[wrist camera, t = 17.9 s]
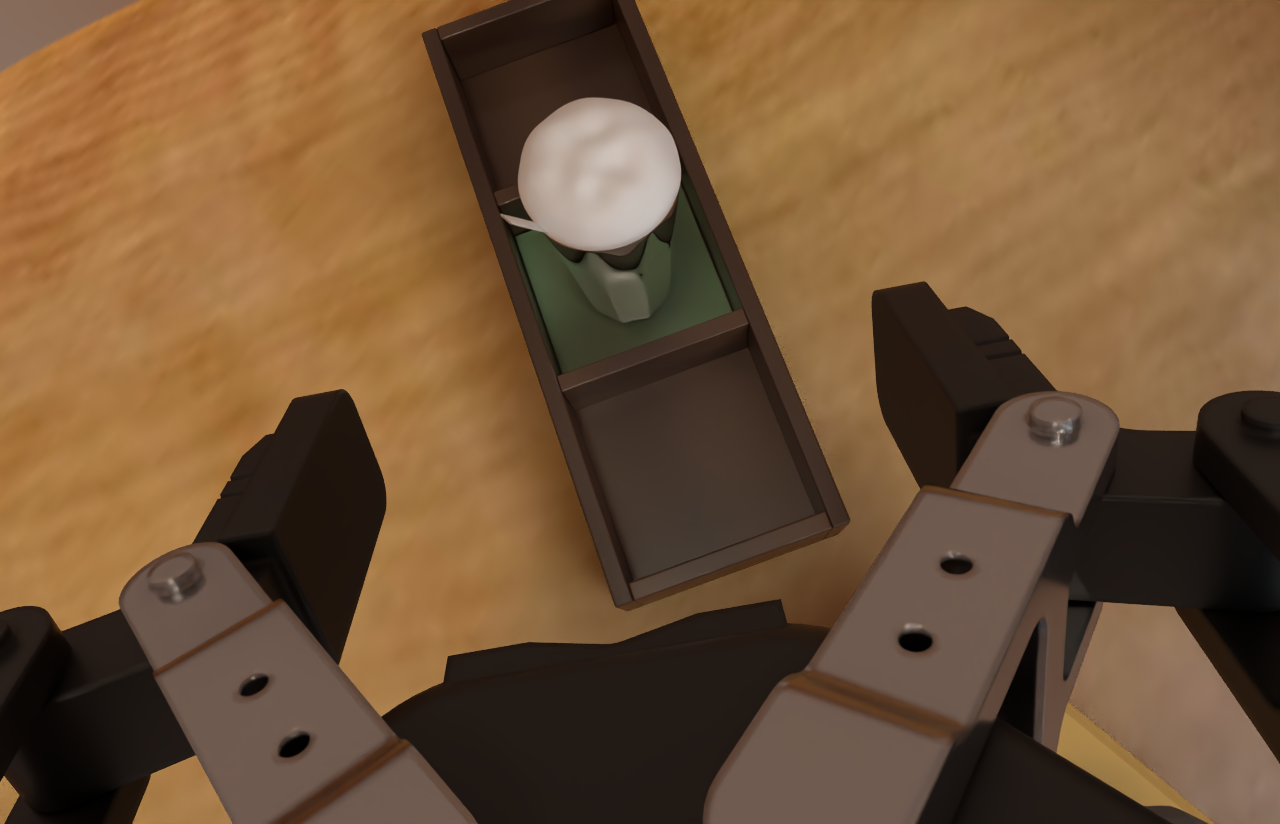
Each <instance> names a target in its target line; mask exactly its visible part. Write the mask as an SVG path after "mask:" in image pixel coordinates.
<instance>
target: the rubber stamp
mask: <svg viewBox="0 0 1280 824" xmlns="http://www.w3.org/2000/svg"><path fill="white" fill-rule="evenodd" d="M1056 753H1057V754H1059V755H1061V756H1062V757H1064V758H1065V759H1067V760H1069V761H1070V762H1072V763H1074V764H1075V765H1077V766H1079V767H1080V768H1082V769H1084V770H1085V771H1087V772H1089V773H1090V774H1092V775H1093V776H1095V777H1097V778H1098V779H1100V780H1102V781H1103V782H1105V783H1107V784H1108V785H1110V786H1112V787H1113V788H1115V789H1117V790H1118V791H1120V792H1121V793H1123V794H1125V795H1126V796H1128V797H1130V798H1131V799H1133V800H1135V801H1136V802H1138V803H1140V804H1141V805H1143V806H1145V807H1146V808H1148V809H1150V810H1151V811H1153V812H1154V813H1156V814H1158V815H1159V816H1161V817H1163V818H1164V819H1166V820H1168V821H1169V822H1171V823H1173V824H1215V823H1214V822H1213V821H1211V820H1210V819H1209V818H1208V817H1206V816H1205V815H1204V814H1203V813H1202V812H1200V811H1199V810H1198V809H1197V808H1196V807H1194V806H1193V805H1192V804H1191V803H1190V802H1188V801H1187V800H1186V799H1185V798H1184V797H1182V796H1181V795H1180V794H1179V793H1178V792H1176V791H1175V790H1174V789H1173V788H1171V787H1170V786H1169V785H1168V784H1167V783H1165V782H1164V781H1163V780H1162V779H1161V778H1159V777H1158V776H1157V775H1156V774H1155V773H1153V772H1152V771H1151V770H1150V769H1149V768H1147V767H1146V766H1145V765H1144V764H1142V763H1141V762H1140V761H1139V760H1138V759H1136V758H1135V757H1134V756H1133V755H1132V754H1130V753H1129V752H1128V751H1127V750H1126V749H1124V748H1123V747H1122V746H1121V745H1120V744H1118V743H1117V742H1116V741H1115V740H1113V739H1112V738H1111V737H1110V736H1109V735H1107V734H1106V733H1105V732H1104V731H1103V730H1101V729H1100V728H1099V727H1098V726H1097V725H1095V724H1094V723H1093V722H1092V721H1091V720H1089V719H1088V718H1087V717H1086V716H1085V715H1083V714H1082V713H1081V712H1080V711H1078V710H1077V709H1076V708H1075V707H1074V706H1072V705H1071V704H1070V703H1069V702H1068V704H1067V707H1066V710H1065V714H1064V717H1063V721H1062V726H1061V731H1060V736H1059V742H1058V747H1057V752H1056Z"/></svg>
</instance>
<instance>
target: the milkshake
mask: <svg viewBox="0 0 1280 824" xmlns="http://www.w3.org/2000/svg"><path fill="white" fill-rule="evenodd" d="M680 182H681V165H680V160H679V155H678V151H677V148H676V145H675V142H674V139H673V137H672V135H671V134H670V132H669V131H668V129H667V128H666V127H665V126H664V125H663V124H662V123H661V122H660V121H659V120H658V119H657V118H656V117H654V116H653V115H652V114H650V113H649V112H647V111H646V110H644V109H643V108H641V107H639V106H637V105H635V104H632V103H630V102H626V101H622V100H616V99H608V98H583V99H578V100H575V101H572V102H570V103H568V104H566V105H564V106H562V107H560V108H559V109H557V110H556V111H555V112H553V113H552V114H551V115H550V116H548V117H547V118H546V119H545V120H543V121H542V122H541V123H540V124H539V125H538V126H536V127H535V129H534V130H533V131H532V132H531V134H530V135H529V136H528V138H527V140H526V142H525V144H524V147H523V151H522V155H521V160H520V166H519V172H518V189H519V194H520V198H521V201H522V203H523V206H524V208H525V210H526V211H527V213H528V215H529V216H530V218H531V219H532V220H533V222H532V221H529V220H525V219H521V218H517V217H513V216H509V215H506V214H502V213H500V216H501V217H503V218H504V219H505V220H506V221H507V222H508V223H509V224H511V225H515V226H519V227H523V228H527V229H531V230H535V231H539V232H542V234H543V235H544V236H545V238H546V239H547V240H548V242H549V243H550V244H551V246H552V247H553V248H554V250H555V251H556V252H557V254H558V255H559V256H560V257H561V259H562V260H563V261H564V263H565V264H566V266H567V267H568V268H569V270H570V271H571V273H572V275H573V276H574V278H575V279H576V281H577V282H578V284H579V285H580V287H581V289H582V290H583V292H584V293H585V295H586V296H587V298H588V299H589V301H590V303H591V304H592V306H593V307H594V309H595V310H596V312H598V313H601V314H603V315H605V316H608V317H610V318H612V319H615V320H617V321H619V322H621V323H624V322H629V321H634V320H639V319H644V318H649V317H651V316H652V315H653V314H654V313H655V312H656V311H657V310H658V309H659V308H660V307H661V305H662V304H663V303H664V302H665V301H666V300H667V299H668V298H669V297H670V292H671V284H672V277H673V270H674V244H675V222H676V216H677V207H678V197H679V187H680Z"/></svg>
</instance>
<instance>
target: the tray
mask: <svg viewBox="0 0 1280 824" xmlns="http://www.w3.org/2000/svg"><path fill="white" fill-rule="evenodd" d="M422 38H423V41H424V44H425V47H426V50H427V52H428V55H429V58H430V61H431V64H432V67H433V70H434V73H435V76H436V79H437V82H438V85H439V88H440V91H441V94H442V97H443V100H444V103H445V106H446V109H447V112H448V114H449V117H450V120H451V123H452V126H453V129H454V132H455V135H456V138H457V141H458V144H459V147H460V150H461V153H462V156H463V159H464V162H465V165H466V168H467V171H468V174H469V176H470V179H471V182H472V185H473V188H474V191H475V194H476V197H477V200H478V203H479V206H480V209H481V212H482V215H483V218H484V221H485V224H486V227H487V230H488V233H489V236H490V239H491V241H492V244H493V247H494V250H495V253H496V256H497V259H498V262H499V265H500V268H501V271H502V274H503V277H504V280H505V283H506V286H507V289H508V292H509V295H510V298H511V301H512V303H513V306H514V309H515V312H516V315H517V318H518V321H519V324H520V327H521V330H522V333H523V336H524V339H525V342H526V345H527V348H528V351H529V354H530V357H531V360H532V363H533V365H534V368H535V371H536V374H537V377H538V380H539V383H540V386H541V389H542V392H543V395H544V398H545V401H546V404H547V407H548V410H549V413H550V416H551V419H552V422H553V425H554V427H555V430H556V433H557V436H558V439H559V442H560V445H561V448H562V451H563V454H564V457H565V460H566V463H567V466H568V469H569V472H570V475H571V478H572V481H573V484H574V487H575V489H576V492H577V495H578V498H579V501H580V504H581V507H582V510H583V513H584V516H585V519H586V522H587V525H588V528H589V531H590V534H591V537H592V540H593V543H594V546H595V549H596V551H597V554H598V557H599V560H600V563H601V566H602V569H603V572H604V575H605V578H606V581H607V584H608V587H609V590H610V593H611V596H612V599H613V602H614V605H615V607H617V608H619V609H622V610H625V611H630V610H632V609H635V608H638V607H640V606H643V605H646V604H649V603H651V602H654V601H657V600H660V599H662V598H665V597H668V596H671V595H673V594H676V593H679V592H681V591H684V590H687V589H690V588H692V587H695V586H698V585H701V584H703V583H706V582H709V581H712V580H714V579H717V578H720V577H722V576H725V575H728V574H731V573H733V572H736V571H739V570H742V569H744V568H747V567H750V566H753V565H755V564H758V563H761V562H763V561H766V560H769V559H772V558H774V557H777V556H780V555H783V554H785V553H788V552H791V551H794V550H796V549H799V548H802V547H804V546H807V545H810V544H813V543H815V542H818V541H821V540H824V539H826V538H829V537H832V536H835V535H837V534H839V533H840V532H841V531H842V530H843V529H844V528H845V527H846V526H847V525H848V524H849V523H850V518H849V515H848V513H847V511H846V508H845V506H844V503H843V501H842V499H841V496H840V494H839V491H838V489H837V487H836V484H835V482H834V479H833V477H832V474H831V472H830V470H829V467H828V465H827V462H826V460H825V458H824V455H823V453H822V450H821V448H820V446H819V443H818V441H817V438H816V436H815V434H814V431H813V429H812V426H811V424H810V421H809V419H808V417H807V414H806V412H805V409H804V407H803V405H802V402H801V400H800V397H799V395H798V393H797V390H796V388H795V385H794V383H793V380H792V378H791V376H790V373H789V371H788V368H787V366H786V364H785V361H784V359H783V356H782V354H781V352H780V349H779V347H778V344H777V342H776V340H775V337H774V335H773V332H772V330H771V327H770V325H769V323H768V320H767V318H766V315H765V313H764V311H763V308H762V306H761V303H760V301H759V299H758V296H757V294H756V291H755V289H754V287H753V284H752V282H751V279H750V277H749V274H748V272H747V270H746V267H745V265H744V262H743V260H742V258H741V255H740V253H739V250H738V248H737V246H736V243H735V241H734V238H733V236H732V234H731V231H730V229H729V226H728V224H727V221H726V219H725V217H724V214H723V212H722V209H721V207H720V205H719V202H718V200H717V197H716V195H715V193H714V190H713V188H712V185H711V183H710V180H709V178H708V176H707V173H706V171H705V168H704V166H703V164H702V161H701V159H700V156H699V154H698V152H697V149H696V147H695V144H694V142H693V140H692V137H691V135H690V132H689V130H688V127H687V125H686V123H685V120H684V118H683V115H682V113H681V111H680V108H679V106H678V103H677V101H676V99H675V96H674V94H673V91H672V89H671V87H670V84H669V82H668V79H667V77H666V74H665V72H664V70H663V67H662V65H661V62H660V60H659V58H658V55H657V53H656V50H655V48H654V46H653V43H652V41H651V38H650V36H649V33H648V31H647V29H646V26H645V24H644V21H643V19H642V17H641V14H640V12H639V9H638V7H637V5H636V2H635V0H510V1H508V2H505V3H502V4H499V5H497V6H494V7H491V8H489V9H486V10H483V11H480V12H478V13H475V14H472V15H470V16H467V17H464V18H461V19H459V20H456V21H453V22H450V23H448V24H445V25H442V26H440V27H438V28H437V29H436V28H434V29H431V30H429V31H426V32H423V33H422ZM583 98H608V99H616V100H622V101H626V102H630V103H632V104H635V105H637V106H639V107H641V108H643V109H644V110H646V111H647V112H649V113H650V114H652V115H653V116H654V117H656V118H657V119H658V120H659V121H660V122H661V123H662V124H663V125H664V126H665V127H666V128H667V129H668V131H669V132H670V134H671V135H672V137H673V139H674V142H675V145H676V148H677V151H678V155H679V160H680V165H681V182H680V187H679V197H678V207H677V216H676V222H675V244H674V270H673V277H672V284H671V292H670V297H669V298H668V299H667V300H666V301H665V302H664V303H663V304H662V305H661V307H660V308H659V309H658V310H657V311H656V312H655V313H654V314H653V315H652V316H651V317H649V318H644V319H639V320H634V321H629V322H624V323H621V322H619V321H617V320H615V319H612V318H610V317H608V316H605V315H603V314H601V313H598V312H596V310H595V309H594V307H593V306H592V304H591V303H590V301H589V299H588V298H587V296H586V295H585V293H584V292H583V290H582V289H581V287H580V285H579V284H578V282H577V281H576V279H575V278H574V276H573V275H572V273H571V271H570V270H569V268H568V267H567V266H566V264H565V263H564V261H563V260H562V259H561V257H560V256H559V255H558V254H557V252H556V251H555V250H554V248H553V247H552V246H551V244H550V243H549V242H548V240H547V239H546V238H545V236H544V235H543V234H542V232H539V231H535V230H531V229H527V228H523V227H519V226H515V225H511V224H509V223H508V222H507V221H506V220H505V219H504V218H503V217H501V216H500V213H502V214H506V215H509V216H513V217H517V218H521V219H525V220H529V221H532V222H533V220H532V219H531V218H530V216H529V215H528V213H527V211H526V210H525V208H524V206H523V203H522V201H521V198H520V194H519V189H518V172H519V166H520V160H521V155H522V151H523V147H524V144H525V142H526V140H527V138H528V136H529V135H530V134H531V132H532V131H533V130H534V129H535V127H536V126H538V125H539V124H540V123H541V122H542V121H543V120H545V119H546V118H547V117H548V116H550V115H551V114H552V113H553V112H555V111H556V110H557V109H559V108H560V107H562V106H564V105H566V104H568V103H570V102H572V101H575V100H578V99H583Z"/></svg>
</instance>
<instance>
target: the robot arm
mask: <svg viewBox="0 0 1280 824" xmlns="http://www.w3.org/2000/svg"><path fill="white" fill-rule="evenodd" d="M872 321H873V337H874V354H875V370H876V384H877V393H878V398H879V403H880V407H881V411H882V414H883V418H884V420H885V423H886V425H887V427H888V429H889V430H890V432H891V434H892V436H893V438H894V440H895V442H896V444H897V446H898V448H899V449H900V451H901V453H902V455H903V457H904V459H905V461H906V463H907V465H908V466H909V468H910V470H911V472H912V474H913V476H914V478H915V480H916V482H917V484H918V485H919V487H920V489H921V490H920V491H919V492H918V494H917V495H916V497H915V498H914V500H913V502H912V503H911V505H910V506H909V508H908V509H907V511H906V512H905V514H904V516H903V517H902V519H901V520H900V522H899V523H898V525H897V527H896V528H895V530H894V531H893V533H892V534H891V536H890V538H889V539H888V541H887V542H886V544H885V545H884V547H883V549H882V550H881V552H880V553H879V555H878V556H877V558H876V559H875V561H874V563H873V564H872V566H871V567H870V569H869V570H868V572H867V574H866V575H865V577H864V578H863V580H862V581H861V583H860V585H859V586H858V588H857V589H856V591H855V592H854V594H853V595H852V597H851V599H850V600H849V602H848V603H847V605H846V606H845V608H844V610H843V611H842V613H841V614H840V616H839V617H838V619H837V621H836V622H835V624H834V625H833V627H832V628H831V629H830V628H826V627H821V626H814V625H806V624H791V623H787V621H786V617H785V613H784V610H783V606H782V602H781V599H778V600H772V601H767V602H761V603H755V604H749V605H743V606H737V607H732V608H726V609H720V610H714V611H708V612H702V613H697V614H695V615H692V616H689V617H686V618H684V619H681V620H678V621H676V622H673V623H670V624H667V625H665V626H662V627H659V628H657V629H654V630H651V631H649V632H646V633H643V634H640V635H638V636H635V637H632V638H630V639H627V640H624V641H621V642H618V643H613V644H575V643H536V642H527V643H522V644H516V645H510V646H504V647H498V648H492V649H487V650H481V651H475V652H469V653H463V654H457V655H452V656H448V659H447V664H446V670H445V676H444V682H443V683H441V684H438V685H436V686H433V687H431V688H429V689H427V690H425V691H423V692H421V693H419V694H416V695H415V696H413V697H411V698H409V699H408V700H406V701H404V702H403V703H401V704H399V705H398V706H396V707H395V708H393V709H392V710H390V711H389V712H388V713H386V714H385V715H383V716H382V717H380V715H379V714H378V713H377V712H376V711H375V709H374V708H373V707H372V706H371V705H370V703H369V702H368V701H367V700H366V699H365V697H364V696H363V695H362V694H361V693H360V691H359V690H358V689H357V688H356V687H355V685H354V684H353V683H352V682H351V681H350V679H349V678H348V677H347V676H346V675H345V673H344V672H343V671H342V670H341V669H340V667H339V666H338V665H339V662H340V659H341V656H342V653H343V649H344V646H345V643H346V640H347V636H348V633H349V630H350V626H351V623H352V620H353V617H354V613H355V610H356V607H357V604H358V600H359V597H360V594H361V590H362V587H363V584H364V581H365V577H366V574H367V571H368V567H369V564H370V561H371V558H372V554H373V551H374V548H375V545H376V541H377V538H378V535H379V531H380V528H381V525H382V522H383V518H384V515H385V511H386V489H385V483H384V479H383V475H382V472H381V470H380V467H379V465H378V462H377V459H376V457H375V454H374V452H373V449H372V447H371V444H370V442H369V439H368V437H367V434H366V431H365V429H364V426H363V424H362V421H361V419H360V416H359V414H358V411H357V409H356V406H355V404H354V401H353V399H352V398H351V396H350V395H349V393H348V392H347V391H345V390H343V389H340V390H335V391H329V392H324V393H319V394H313V395H308V396H303V397H297V398H294V399H293V400H292V401H291V403H290V405H289V407H288V409H287V410H286V412H285V414H284V416H283V418H282V420H281V422H280V423H279V425H278V427H277V429H276V431H275V433H274V434H269V435H266V436H264V437H263V438H262V439H261V440H260V441H259V442H258V443H257V444H255V445H254V446H253V447H252V448H251V449H250V450H249V451H248V452H246V453H245V454H244V455H243V456H242V458H241V459H240V461H239V463H238V465H237V466H236V468H235V470H234V472H233V473H232V475H231V477H230V478H231V481H228V482H227V484H226V486H225V487H224V489H223V491H222V493H221V494H220V495H221V499H218V500H217V501H216V503H215V505H214V507H213V508H212V510H211V512H210V514H209V515H208V517H207V519H206V520H205V522H204V524H203V526H202V527H201V529H200V531H199V533H198V534H197V536H196V538H195V540H194V541H193V543H192V544H190V545H187V546H184V547H180V548H178V549H175V550H173V551H170V552H168V553H166V554H164V555H162V556H160V557H158V558H157V559H155V560H153V561H152V562H150V563H149V564H147V565H146V566H144V567H143V568H142V569H141V570H139V571H138V572H137V573H136V574H135V575H134V576H133V577H132V578H131V579H130V580H129V581H128V582H127V584H126V585H125V586H124V588H123V590H122V592H121V594H120V597H119V606H120V609H119V610H117V611H115V612H112V613H109V614H107V615H104V616H101V617H99V618H96V619H93V620H91V621H88V622H86V623H83V624H80V625H78V626H75V627H72V628H70V629H67V630H64V631H62V632H61V630H60V629H59V628H58V626H57V625H56V623H55V622H54V620H53V619H52V617H51V616H50V614H49V613H48V612H47V611H46V610H45V609H43V608H40V607H36V606H23V607H17V608H13V609H9V610H5V611H2V612H0V781H1V780H2V778H3V776H5V777H6V779H7V780H8V781H9V782H10V784H11V785H12V786H13V787H14V789H15V790H16V791H17V792H18V794H19V795H20V796H19V797H18V799H17V801H16V803H15V805H14V807H13V809H12V810H11V812H10V814H9V816H8V818H7V820H6V822H5V823H4V824H132V822H133V820H134V818H135V815H136V813H137V810H138V808H139V805H140V803H141V800H142V798H143V795H144V793H145V790H146V788H147V786H148V783H149V780H150V776H151V774H152V773H154V772H157V771H159V770H161V769H164V768H166V767H169V766H171V765H173V764H176V763H178V762H180V761H183V760H185V759H187V758H190V757H192V756H195V755H196V756H197V758H198V760H199V761H200V763H201V765H202V767H203V769H204V771H205V773H206V775H207V776H208V778H209V780H210V782H211V784H212V786H213V788H214V789H215V791H216V793H217V795H218V797H219V799H220V801H221V802H222V804H223V806H224V808H225V810H226V812H227V814H228V815H229V817H230V819H231V821H232V823H233V824H1173V823H1171V822H1169V821H1168V820H1166V819H1164V818H1163V817H1161V816H1159V815H1158V814H1156V813H1154V812H1153V811H1151V810H1150V809H1148V808H1146V807H1145V806H1143V805H1141V804H1140V803H1138V802H1136V801H1135V800H1133V799H1131V798H1130V797H1128V796H1126V795H1125V794H1123V793H1121V792H1120V791H1118V790H1117V789H1115V788H1113V787H1112V786H1110V785H1108V784H1107V783H1105V782H1103V781H1102V780H1100V779H1098V778H1097V777H1095V776H1093V775H1092V774H1090V773H1089V772H1087V771H1085V770H1084V769H1082V768H1080V767H1079V766H1077V765H1075V764H1074V763H1072V762H1070V761H1069V760H1067V759H1065V758H1064V757H1062V756H1061V755H1059V754H1057V753H1056V752H1057V747H1058V742H1059V736H1060V731H1061V726H1062V721H1063V717H1064V714H1065V710H1066V707H1067V704H1068V701H1069V699H1070V696H1071V693H1072V690H1073V688H1074V685H1075V682H1076V679H1077V677H1078V674H1079V671H1080V668H1081V665H1082V663H1083V660H1084V657H1085V654H1086V652H1087V649H1088V646H1089V643H1090V641H1091V638H1092V635H1093V632H1094V630H1095V627H1096V624H1097V621H1098V619H1099V616H1100V613H1101V610H1102V607H1103V602H1111V603H1126V604H1141V605H1157V606H1172V607H1175V609H1176V611H1177V613H1178V614H1179V616H1180V617H1181V619H1182V620H1183V622H1184V623H1185V625H1186V626H1187V628H1188V629H1189V631H1190V632H1191V633H1192V635H1193V636H1194V638H1195V639H1196V641H1197V642H1198V644H1199V645H1200V647H1201V648H1202V650H1203V651H1204V653H1205V654H1206V656H1207V657H1208V658H1209V660H1210V661H1211V663H1212V664H1213V666H1214V667H1215V669H1216V670H1217V672H1218V673H1219V675H1220V676H1221V678H1222V679H1223V681H1224V682H1225V683H1226V685H1227V686H1228V688H1229V689H1230V691H1231V692H1232V694H1233V695H1234V697H1235V698H1236V700H1237V701H1238V703H1239V704H1240V706H1241V707H1242V708H1243V710H1244V711H1245V713H1246V714H1247V716H1248V717H1249V719H1250V720H1251V722H1252V723H1253V725H1254V726H1255V728H1256V729H1257V731H1258V732H1259V733H1260V735H1261V736H1262V738H1263V739H1264V741H1265V742H1266V744H1267V745H1268V747H1269V748H1270V750H1271V751H1272V753H1273V754H1274V756H1275V757H1276V758H1277V760H1278V761H1279V763H1280V392H1274V391H1241V392H1234V393H1229V394H1225V395H1222V396H1218V397H1216V398H1214V399H1212V400H1210V401H1209V402H1207V403H1206V404H1204V406H1203V407H1202V408H1201V409H1200V412H1199V414H1198V421H1197V428H1196V431H1147V430H1132V429H1124V428H1119V427H1120V425H1119V419H1118V417H1117V415H1116V414H1115V413H1114V412H1113V410H1112V409H1111V408H1109V407H1108V406H1107V405H1105V404H1103V403H1102V402H1100V401H1098V400H1096V399H1093V398H1091V397H1088V396H1084V395H1081V394H1076V393H1070V392H1061V391H1057V390H1056V389H1055V388H1054V387H1053V386H1052V385H1051V383H1050V382H1049V381H1048V380H1047V379H1046V378H1045V377H1044V375H1043V374H1042V373H1041V372H1040V371H1039V370H1038V369H1037V367H1036V366H1035V365H1034V364H1033V363H1032V362H1031V361H1030V360H1029V358H1028V357H1027V356H1026V355H1025V354H1022V353H1021V349H1020V348H1019V347H1018V346H1017V345H1016V344H1015V342H1014V341H1013V340H1012V339H1011V340H1009V336H1008V334H1007V333H1006V332H1005V331H1004V330H1003V329H1002V328H1001V326H1000V325H999V324H998V323H997V322H996V321H995V320H994V319H993V318H991V317H989V316H986V315H984V314H982V313H980V312H978V311H975V310H973V309H971V308H969V307H960V308H955V309H950V310H948V309H947V308H946V307H945V305H944V304H943V303H942V302H941V300H940V299H939V298H938V297H937V295H936V294H935V293H934V292H933V290H932V289H931V288H930V286H929V285H928V284H927V283H926V282H918V283H913V284H907V285H902V286H897V287H891V288H886V289H881V290H875V291H874V292H873V295H872Z"/></svg>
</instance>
